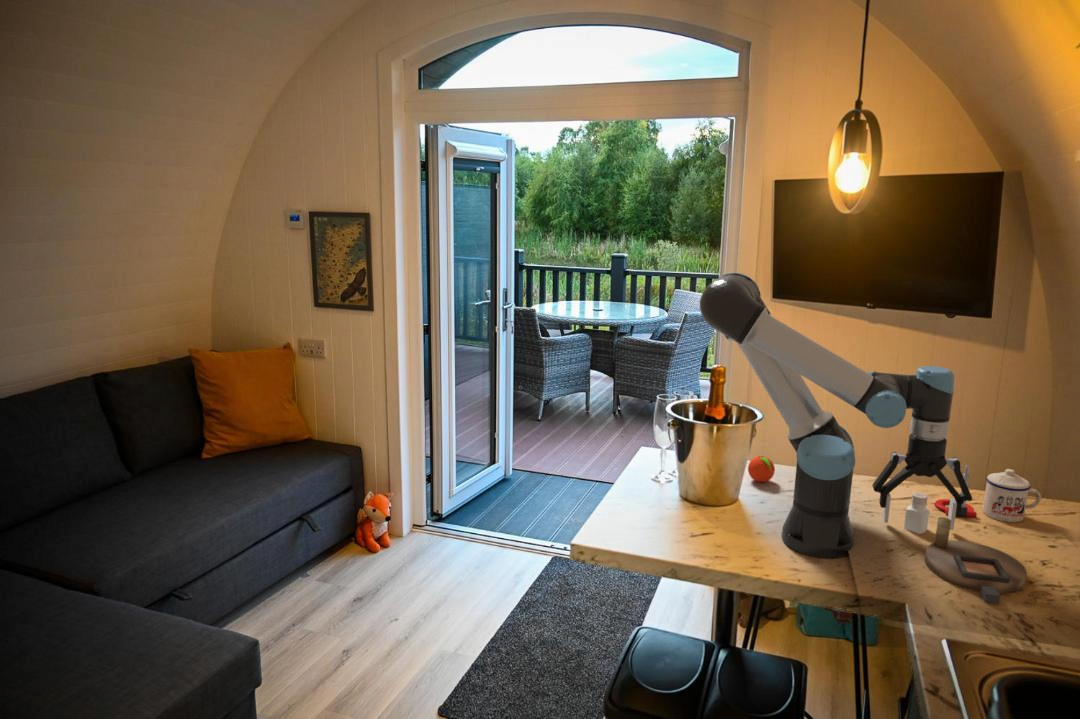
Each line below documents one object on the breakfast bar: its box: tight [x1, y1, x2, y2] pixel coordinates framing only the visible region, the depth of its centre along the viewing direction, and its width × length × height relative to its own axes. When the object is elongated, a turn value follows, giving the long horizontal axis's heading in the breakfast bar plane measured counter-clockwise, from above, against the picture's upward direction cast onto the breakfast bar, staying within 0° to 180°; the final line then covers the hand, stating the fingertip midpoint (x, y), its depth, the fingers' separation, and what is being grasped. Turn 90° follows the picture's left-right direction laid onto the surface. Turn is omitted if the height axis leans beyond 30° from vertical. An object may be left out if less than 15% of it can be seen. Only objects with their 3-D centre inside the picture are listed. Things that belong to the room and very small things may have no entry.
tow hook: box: [934, 465, 977, 518], centre depth 185 cm, size 8×13×9 cm
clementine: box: [747, 455, 776, 483], centre depth 202 cm, size 8×7×7 cm
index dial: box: [924, 516, 1027, 594], centre depth 155 cm, size 18×18×8 cm
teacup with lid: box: [982, 468, 1042, 523], centre depth 182 cm, size 12×9×12 cm
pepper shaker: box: [903, 492, 930, 535], centre depth 173 cm, size 4×4×10 cm
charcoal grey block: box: [979, 586, 1001, 605], centre depth 145 cm, size 2×3×3 cm
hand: (917, 523), depth 173 cm, fingers open, 13 cm apart
